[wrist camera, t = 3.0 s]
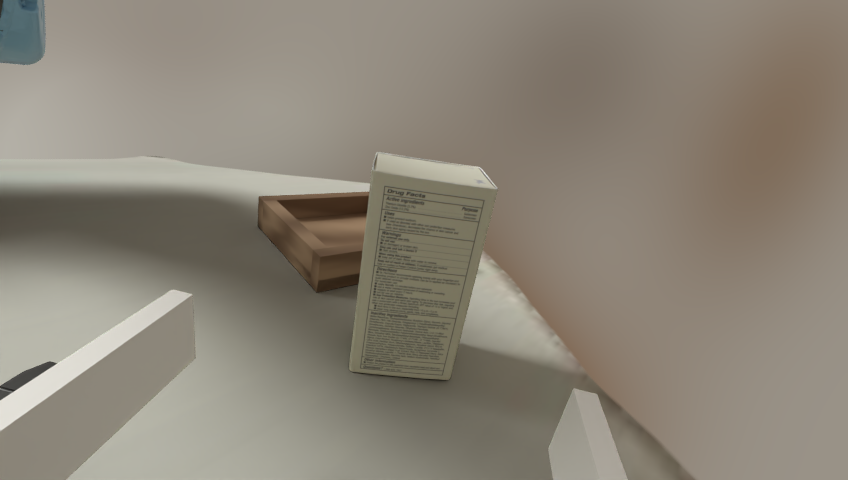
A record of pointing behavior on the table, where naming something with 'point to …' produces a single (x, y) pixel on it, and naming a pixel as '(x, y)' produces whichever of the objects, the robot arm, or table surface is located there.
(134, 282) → the table surface
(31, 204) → the table surface
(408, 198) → the skincare box
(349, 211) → the tray
